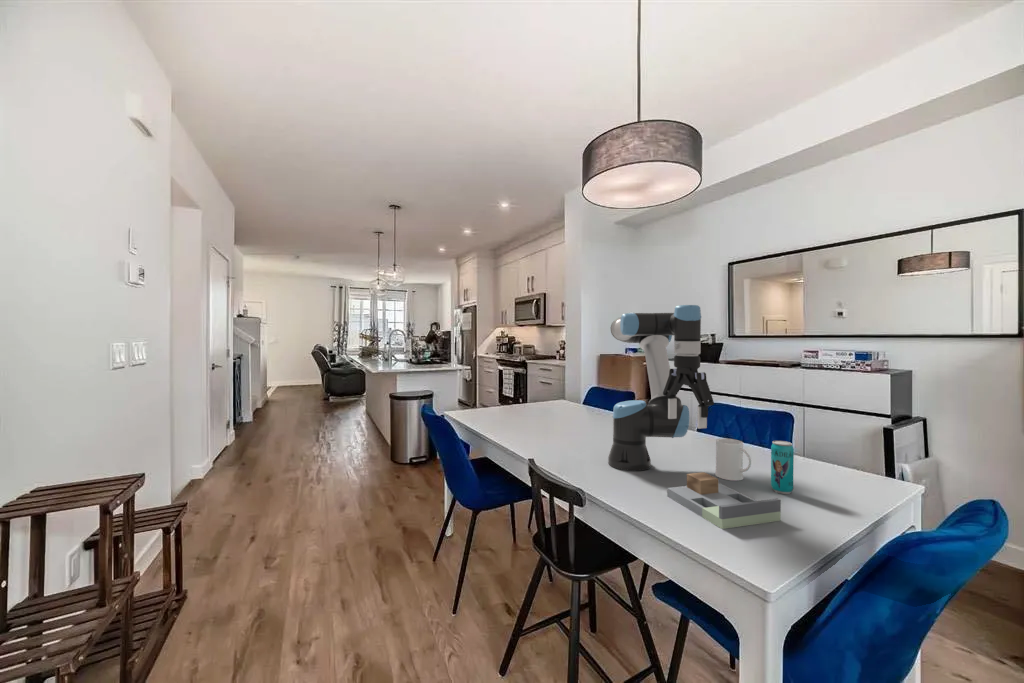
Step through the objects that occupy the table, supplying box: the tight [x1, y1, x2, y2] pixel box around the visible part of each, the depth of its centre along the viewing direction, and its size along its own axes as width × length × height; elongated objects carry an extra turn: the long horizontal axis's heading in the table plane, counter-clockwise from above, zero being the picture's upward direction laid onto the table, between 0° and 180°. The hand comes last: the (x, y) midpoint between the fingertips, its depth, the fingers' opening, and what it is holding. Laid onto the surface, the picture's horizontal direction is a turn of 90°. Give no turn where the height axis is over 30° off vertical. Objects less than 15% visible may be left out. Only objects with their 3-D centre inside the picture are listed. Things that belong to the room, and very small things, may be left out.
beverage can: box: [770, 440, 795, 495], centre depth 128 cm, size 6×6×15 cm
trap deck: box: [666, 482, 782, 530], centre depth 116 cm, size 22×18×5 cm
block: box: [686, 471, 719, 495], centre depth 123 cm, size 6×6×4 cm
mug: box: [714, 437, 752, 482], centre depth 140 cm, size 12×8×12 cm
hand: (686, 423), depth 130 cm, fingers open, 13 cm apart
